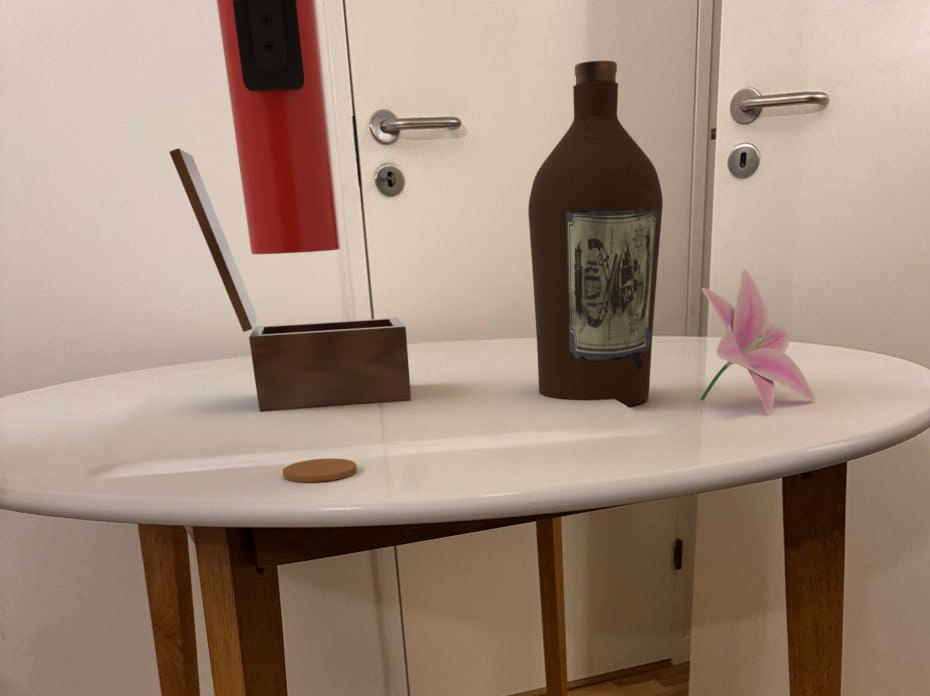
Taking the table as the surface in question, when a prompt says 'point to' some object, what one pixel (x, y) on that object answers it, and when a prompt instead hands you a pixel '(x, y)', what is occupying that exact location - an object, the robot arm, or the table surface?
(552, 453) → the table surface
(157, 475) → the table surface
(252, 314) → the lid
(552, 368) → the brown liquor bottle
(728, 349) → the lily
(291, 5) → the robot arm
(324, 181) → the can
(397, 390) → the dark wooden box
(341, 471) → the pad
